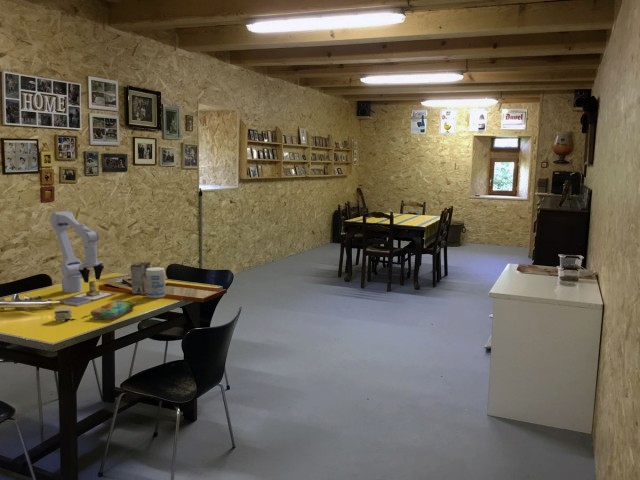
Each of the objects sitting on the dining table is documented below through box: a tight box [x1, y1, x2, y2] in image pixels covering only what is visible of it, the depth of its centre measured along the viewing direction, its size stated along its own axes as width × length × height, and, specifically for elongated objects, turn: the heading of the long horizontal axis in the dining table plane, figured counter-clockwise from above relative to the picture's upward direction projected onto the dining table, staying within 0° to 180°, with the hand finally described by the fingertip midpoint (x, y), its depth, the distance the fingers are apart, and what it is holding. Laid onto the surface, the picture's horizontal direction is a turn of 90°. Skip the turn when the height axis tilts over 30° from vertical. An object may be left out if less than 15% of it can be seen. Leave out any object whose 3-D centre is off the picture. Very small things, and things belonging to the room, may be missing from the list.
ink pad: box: [64, 298, 92, 307], centre depth 265 cm, size 9×8×2 cm
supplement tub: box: [145, 266, 166, 299], centre depth 282 cm, size 10×10×15 cm
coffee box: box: [130, 261, 151, 297], centre depth 288 cm, size 9×6×16 cm
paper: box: [73, 291, 112, 300], centre depth 280 cm, size 14×12×1 cm
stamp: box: [85, 280, 99, 297], centre depth 279 cm, size 5×4×7 cm
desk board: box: [55, 290, 117, 308], centre depth 275 cm, size 18×27×1 cm, turn 158°
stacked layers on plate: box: [53, 306, 73, 322], centre depth 240 cm, size 10×9×6 cm
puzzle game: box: [90, 299, 139, 321], centre depth 251 cm, size 12×5×20 cm
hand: (92, 280), depth 279 cm, fingers open, 7 cm apart
